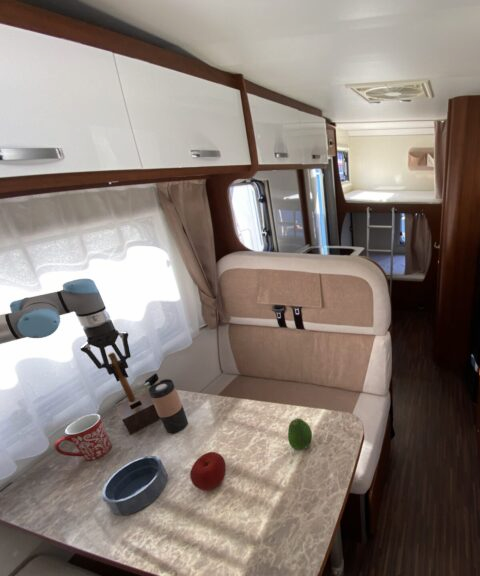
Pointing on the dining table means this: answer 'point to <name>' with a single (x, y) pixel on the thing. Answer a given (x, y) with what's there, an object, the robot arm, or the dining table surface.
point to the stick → (121, 377)
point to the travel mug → (168, 406)
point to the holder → (138, 413)
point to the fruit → (299, 434)
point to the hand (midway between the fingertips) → (122, 377)
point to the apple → (208, 471)
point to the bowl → (135, 485)
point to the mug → (86, 438)
